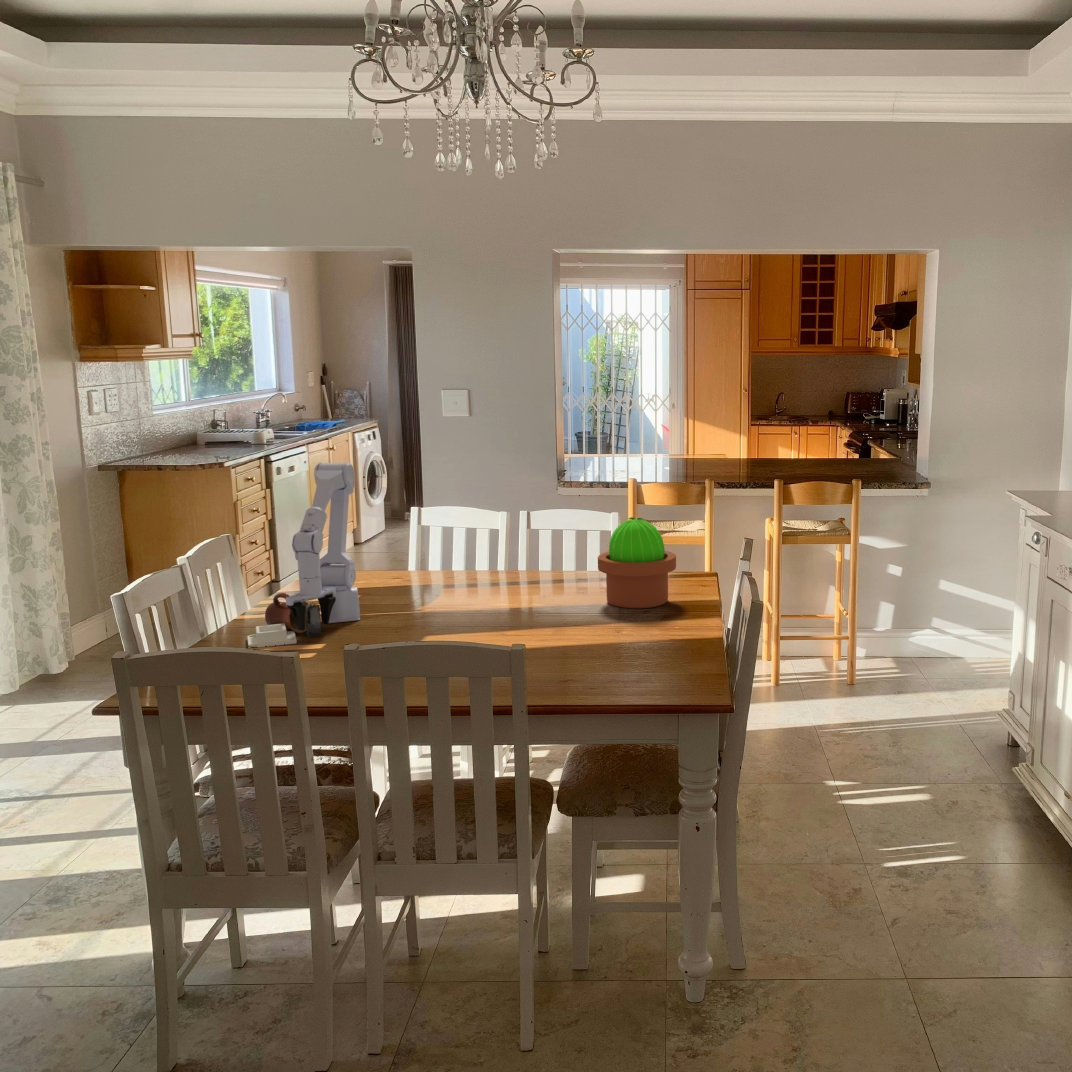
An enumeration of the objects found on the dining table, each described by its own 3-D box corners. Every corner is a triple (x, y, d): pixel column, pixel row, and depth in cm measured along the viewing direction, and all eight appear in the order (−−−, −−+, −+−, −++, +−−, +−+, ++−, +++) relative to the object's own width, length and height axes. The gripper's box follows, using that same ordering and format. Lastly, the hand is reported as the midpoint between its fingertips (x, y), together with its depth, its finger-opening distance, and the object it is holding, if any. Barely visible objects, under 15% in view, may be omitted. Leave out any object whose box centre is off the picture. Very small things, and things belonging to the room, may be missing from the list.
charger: (294, 634, 267) (293, 621, 267) (296, 643, 259) (295, 630, 258) (247, 639, 264) (246, 626, 263) (248, 648, 255) (247, 635, 255)
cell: (320, 632, 268) (318, 600, 267) (322, 636, 265) (319, 603, 263) (306, 634, 267) (304, 602, 266) (307, 637, 264) (305, 605, 262)
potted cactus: (650, 615, 275) (649, 525, 271) (584, 605, 288) (582, 519, 284) (689, 598, 292) (688, 513, 288) (625, 589, 305) (624, 508, 301)
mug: (288, 617, 279) (316, 618, 274) (269, 637, 273) (298, 639, 268) (270, 583, 273) (298, 584, 268) (251, 603, 267) (279, 604, 262)
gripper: (323, 569, 271) (327, 618, 273) (277, 579, 261) (281, 629, 263) (339, 572, 266) (342, 622, 269) (293, 583, 256) (297, 634, 258)
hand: (313, 626), depth 265 cm, fingers open, 7 cm apart
